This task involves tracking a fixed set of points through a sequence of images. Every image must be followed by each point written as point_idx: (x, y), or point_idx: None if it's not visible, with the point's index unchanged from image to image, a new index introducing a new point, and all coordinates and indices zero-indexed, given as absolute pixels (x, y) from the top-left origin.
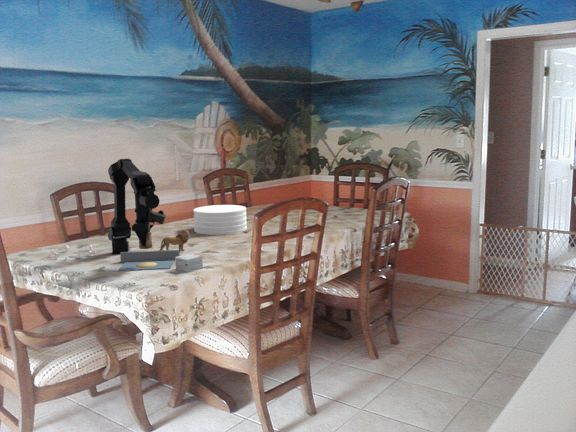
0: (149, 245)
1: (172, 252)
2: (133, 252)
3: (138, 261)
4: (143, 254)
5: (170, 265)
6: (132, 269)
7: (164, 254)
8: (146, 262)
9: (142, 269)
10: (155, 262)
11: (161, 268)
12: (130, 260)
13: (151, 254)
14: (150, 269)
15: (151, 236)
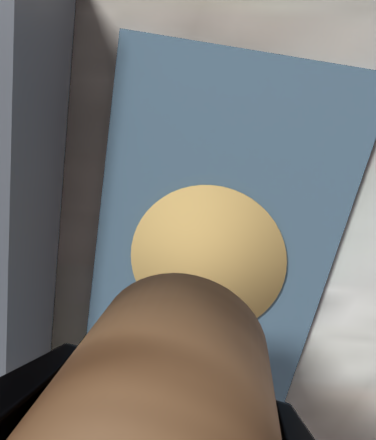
0: (255, 341)
1: (27, 11)
2: (6, 370)
3: (53, 299)
4: (23, 288)
5: (305, 68)
6: (297, 362)
7: (36, 107)
8: (136, 259)
9: (318, 299)
10: (143, 192)
11: (367, 156)
12: (45, 349)
13: (28, 226)
14: (335, 243)
15: (163, 420)
